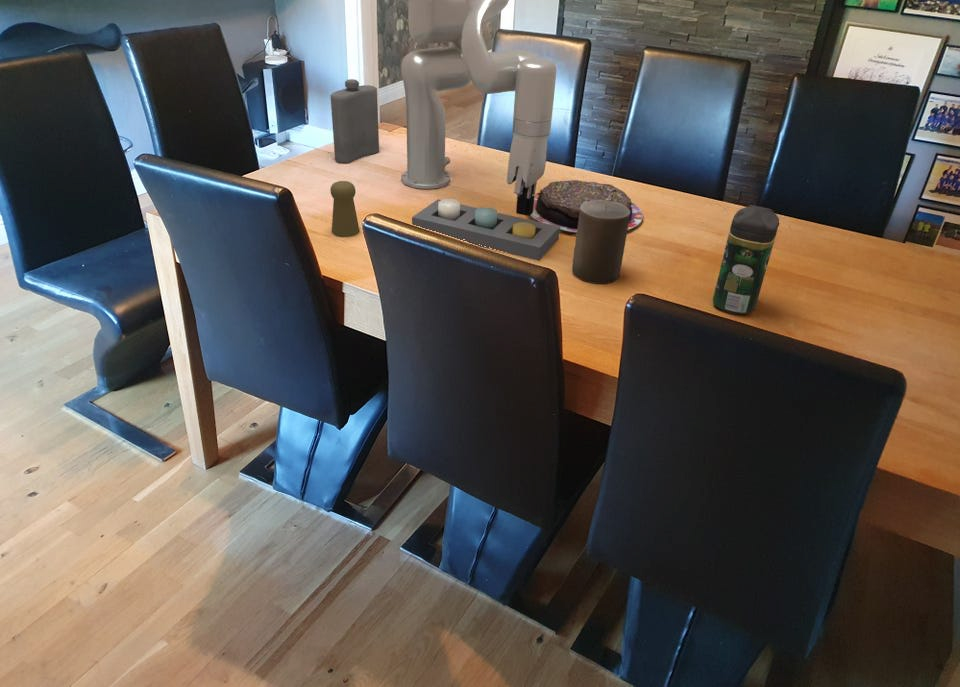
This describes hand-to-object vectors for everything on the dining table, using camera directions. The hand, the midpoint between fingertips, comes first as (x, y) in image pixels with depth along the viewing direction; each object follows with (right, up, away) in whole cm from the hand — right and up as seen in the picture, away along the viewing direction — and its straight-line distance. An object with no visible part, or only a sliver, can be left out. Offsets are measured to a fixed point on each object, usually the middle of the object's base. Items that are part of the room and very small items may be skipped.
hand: (524, 213), depth 150 cm
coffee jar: (+39, -20, -14) cm, 46 cm away
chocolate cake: (+15, +3, +20) cm, 25 cm away
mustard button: (0, -5, +3) cm, 6 cm away
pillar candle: (+14, -13, -6) cm, 20 cm away
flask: (-43, +24, +46) cm, 68 cm away
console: (-8, -3, +7) cm, 11 cm away
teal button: (-8, -2, +6) cm, 10 cm away
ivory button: (-16, +1, +9) cm, 18 cm away
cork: (-39, -3, +5) cm, 39 cm away
